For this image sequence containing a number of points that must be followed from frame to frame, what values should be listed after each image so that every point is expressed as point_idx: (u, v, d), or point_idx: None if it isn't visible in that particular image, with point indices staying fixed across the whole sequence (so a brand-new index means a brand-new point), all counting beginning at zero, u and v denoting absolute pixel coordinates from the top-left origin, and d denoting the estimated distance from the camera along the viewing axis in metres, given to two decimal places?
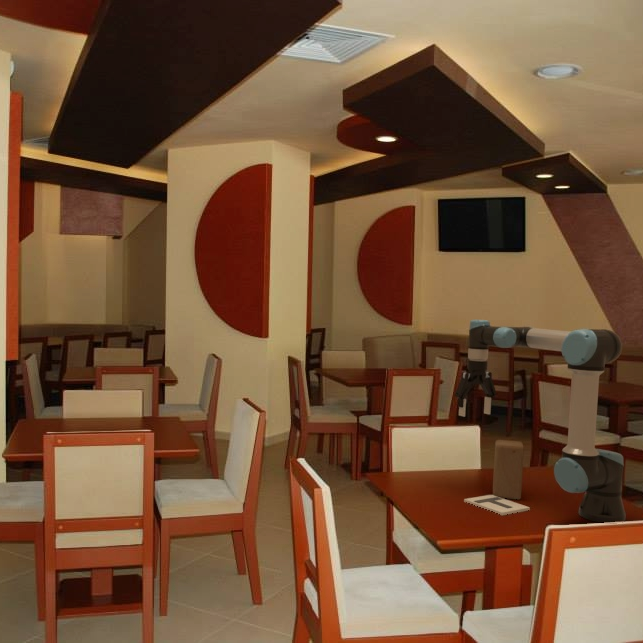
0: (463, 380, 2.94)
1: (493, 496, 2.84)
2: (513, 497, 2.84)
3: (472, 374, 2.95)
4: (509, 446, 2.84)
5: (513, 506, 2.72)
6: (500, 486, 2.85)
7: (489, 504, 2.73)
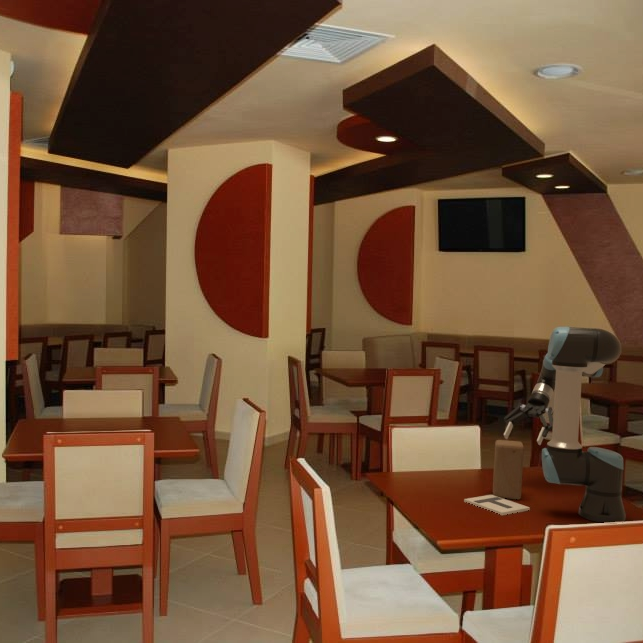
0: None
1: (493, 496, 2.84)
2: (513, 497, 2.84)
3: (527, 405, 3.06)
4: (509, 446, 2.84)
5: (513, 506, 2.72)
6: (500, 486, 2.85)
7: (489, 504, 2.73)
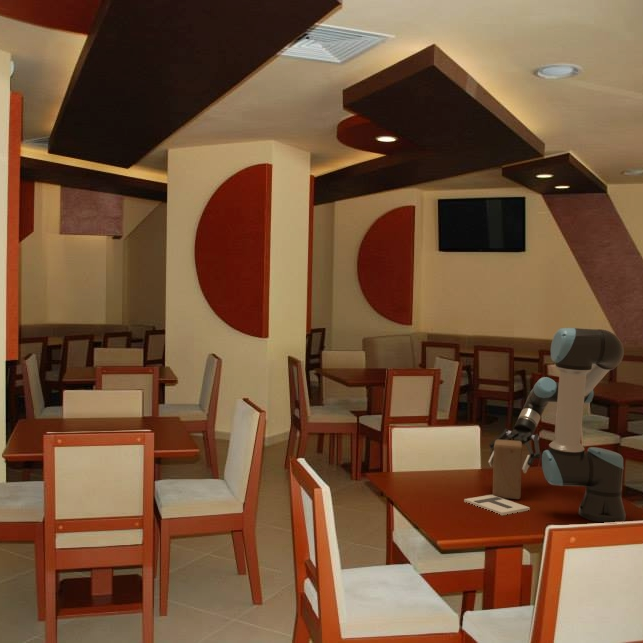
0: None
1: (493, 496, 2.84)
2: (512, 497, 2.84)
3: (512, 431, 2.98)
4: (507, 446, 2.84)
5: (513, 506, 2.72)
6: (499, 486, 2.85)
7: (489, 504, 2.73)
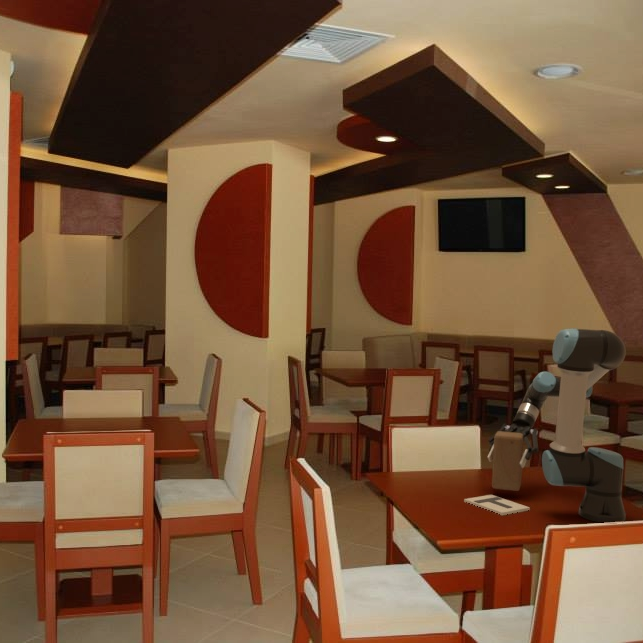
0: None
1: (493, 496, 2.84)
2: (512, 488, 2.84)
3: (511, 425, 2.97)
4: (507, 437, 2.84)
5: (513, 506, 2.72)
6: (498, 477, 2.85)
7: (489, 504, 2.73)
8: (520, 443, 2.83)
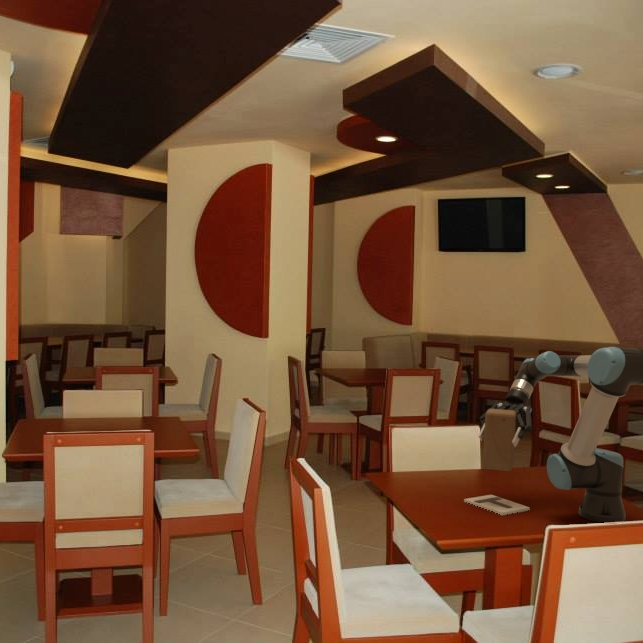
0: None
1: (493, 496, 2.84)
2: (503, 468, 2.69)
3: (504, 403, 2.82)
4: (499, 414, 2.69)
5: (513, 506, 2.72)
6: (489, 456, 2.70)
7: (489, 504, 2.73)
8: (512, 420, 2.67)
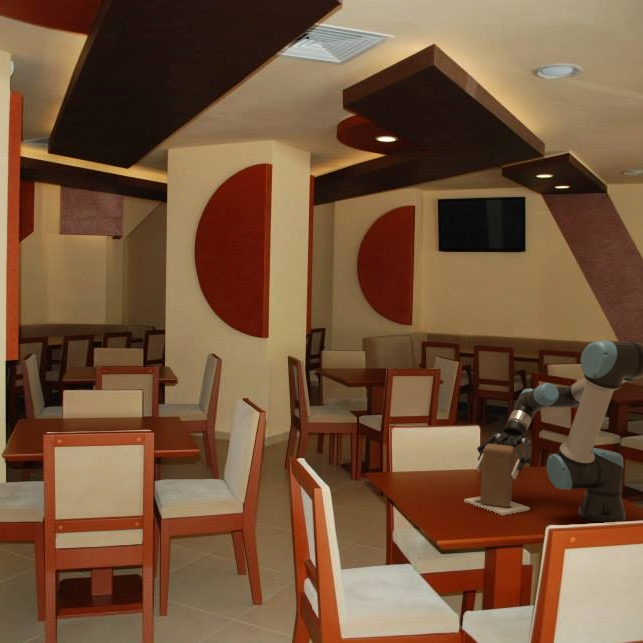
0: None
1: None
2: (501, 504, 2.70)
3: (502, 434, 2.82)
4: (497, 450, 2.70)
5: (513, 506, 2.72)
6: (487, 492, 2.71)
7: None
8: (510, 457, 2.68)
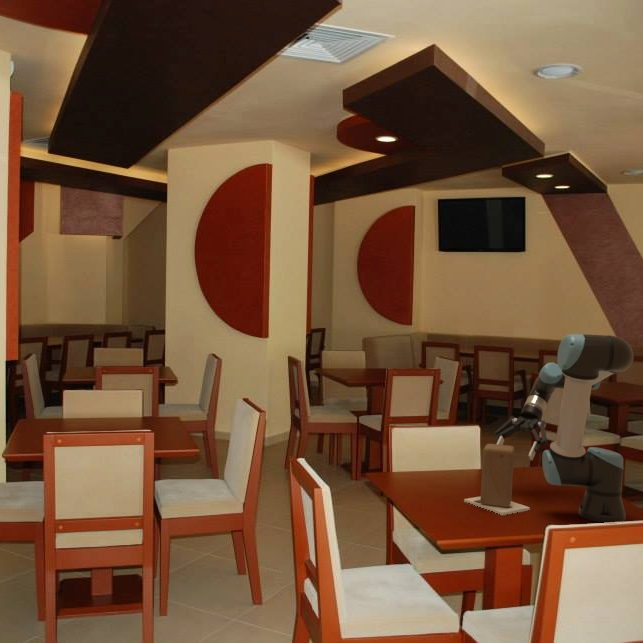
0: None
1: None
2: (501, 504, 2.70)
3: (518, 418, 2.93)
4: (497, 450, 2.70)
5: (513, 506, 2.72)
6: (487, 492, 2.71)
7: None
8: (510, 457, 2.68)
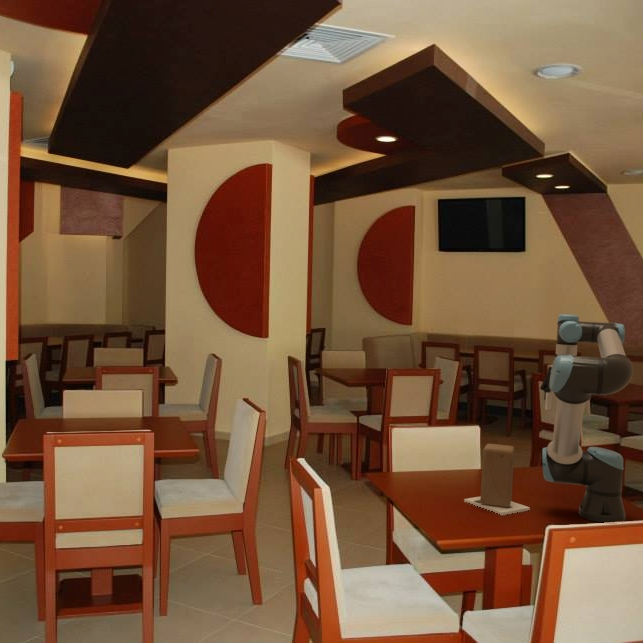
0: None
1: None
2: (501, 504, 2.70)
3: None
4: (497, 450, 2.70)
5: (513, 506, 2.72)
6: (487, 492, 2.71)
7: None
8: (510, 457, 2.68)
